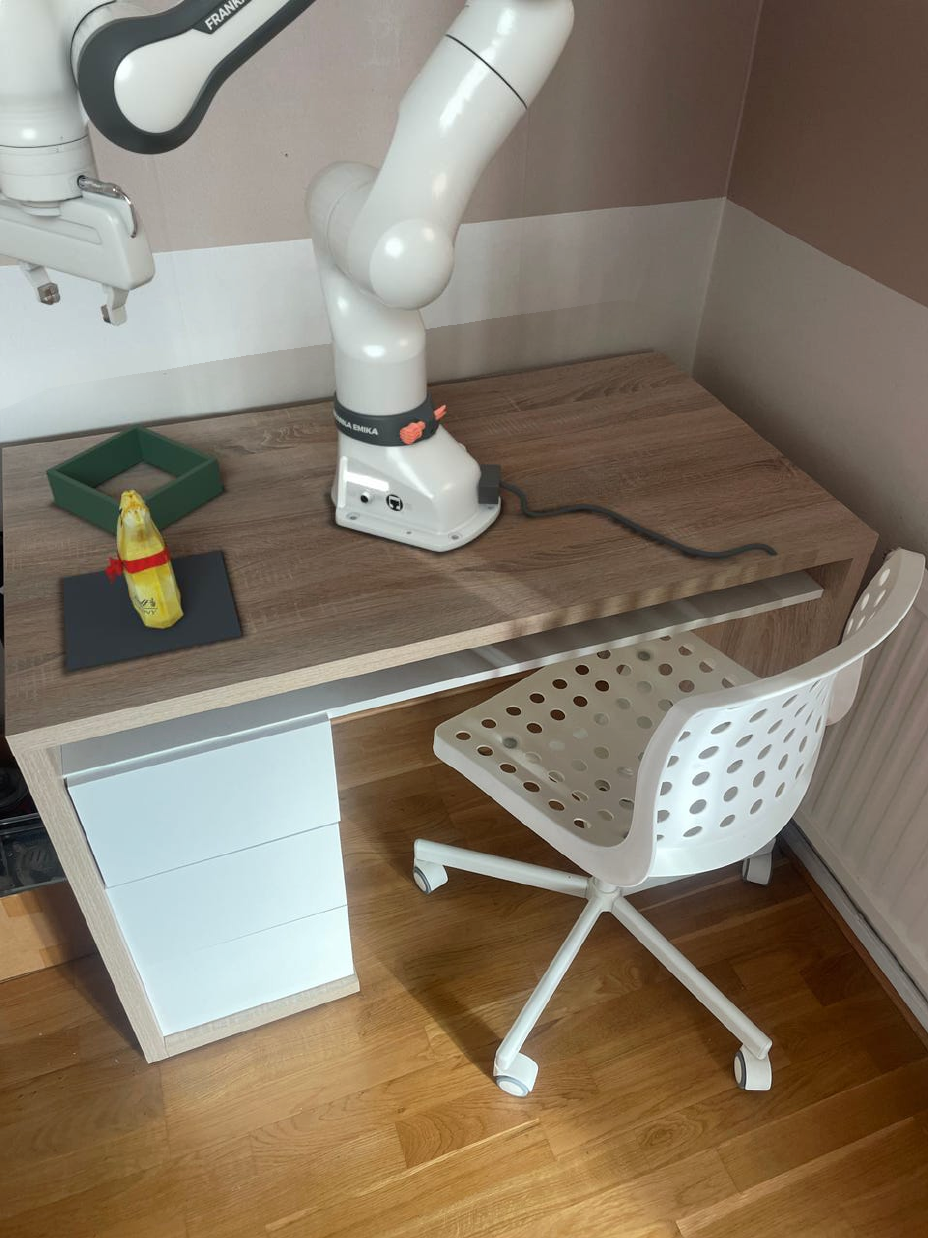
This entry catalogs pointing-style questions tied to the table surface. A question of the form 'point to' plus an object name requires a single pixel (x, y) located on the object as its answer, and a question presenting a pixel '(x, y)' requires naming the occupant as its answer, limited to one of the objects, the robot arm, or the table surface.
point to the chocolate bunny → (145, 564)
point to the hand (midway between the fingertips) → (82, 312)
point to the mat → (115, 628)
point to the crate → (121, 453)
